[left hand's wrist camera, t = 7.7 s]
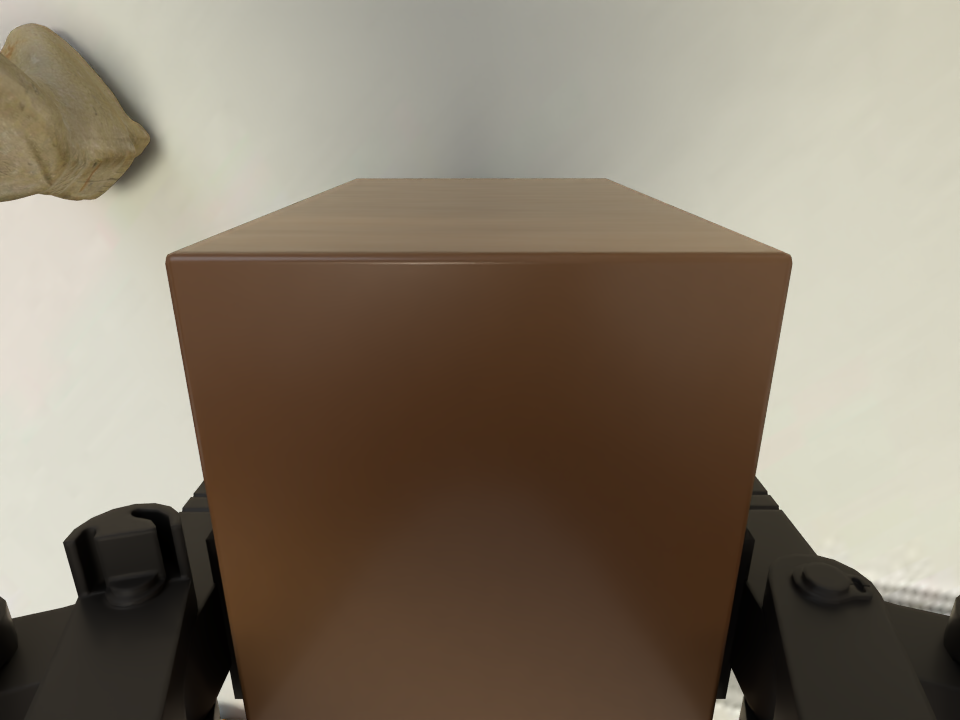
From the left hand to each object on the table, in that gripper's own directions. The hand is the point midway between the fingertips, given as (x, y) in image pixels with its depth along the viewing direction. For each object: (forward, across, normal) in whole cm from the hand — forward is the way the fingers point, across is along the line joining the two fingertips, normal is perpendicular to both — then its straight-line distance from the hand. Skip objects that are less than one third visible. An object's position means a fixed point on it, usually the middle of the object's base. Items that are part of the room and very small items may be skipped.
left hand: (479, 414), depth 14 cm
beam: (+1, 0, -31) cm, 31 cm away
